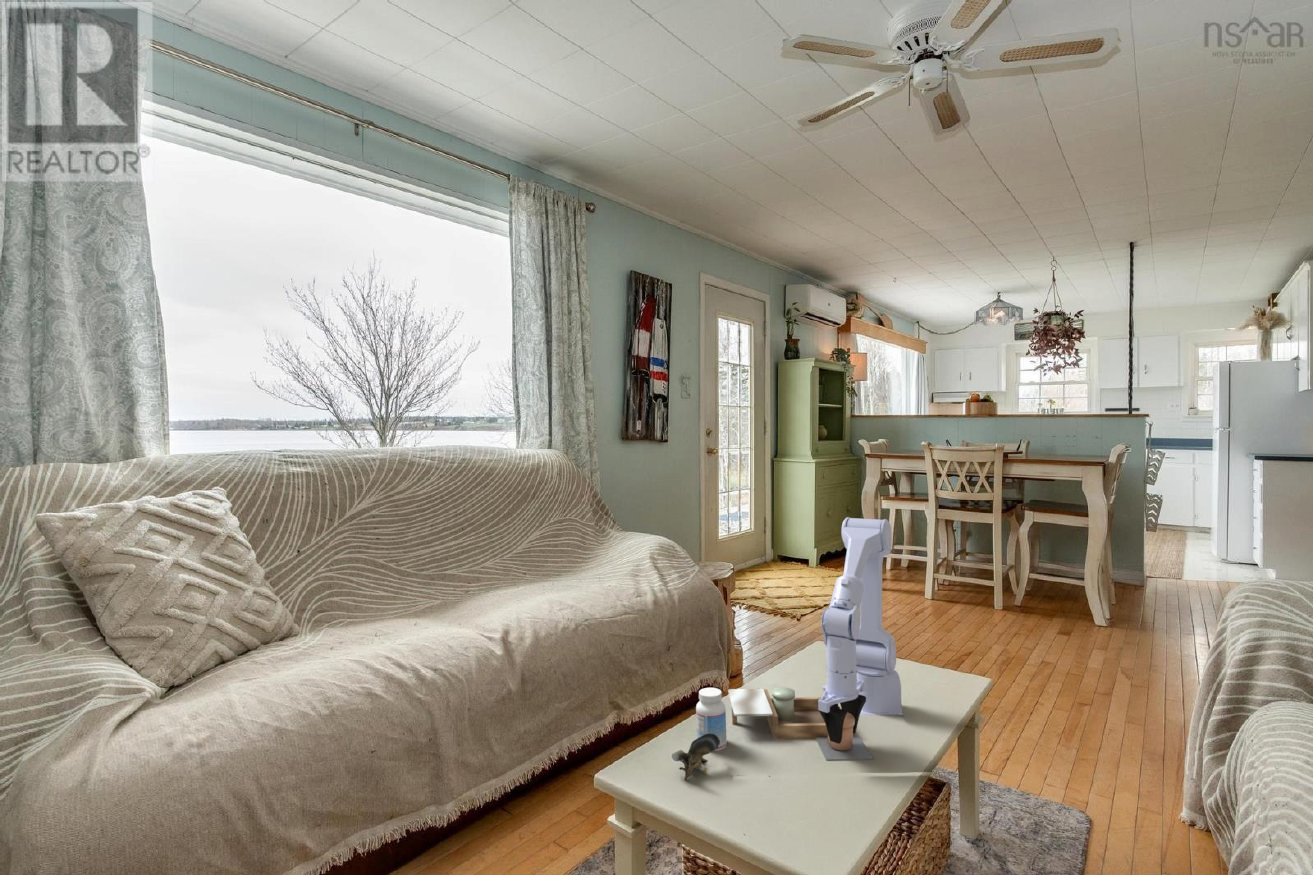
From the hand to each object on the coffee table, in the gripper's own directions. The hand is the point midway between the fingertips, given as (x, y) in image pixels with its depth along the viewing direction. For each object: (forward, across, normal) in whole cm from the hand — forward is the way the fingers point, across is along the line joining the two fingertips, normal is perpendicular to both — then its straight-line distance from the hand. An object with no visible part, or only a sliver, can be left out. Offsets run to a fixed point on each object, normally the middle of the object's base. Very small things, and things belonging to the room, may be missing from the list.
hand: (842, 736), depth 128 cm
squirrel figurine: (+3, +25, -16) cm, 30 cm away
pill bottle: (+3, +16, -20) cm, 26 cm away
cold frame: (+3, -2, -15) cm, 15 cm away
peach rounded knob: (+2, 0, -1) cm, 2 cm away
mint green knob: (+2, -4, -17) cm, 18 cm away
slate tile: (+3, 0, 0) cm, 3 cm away
